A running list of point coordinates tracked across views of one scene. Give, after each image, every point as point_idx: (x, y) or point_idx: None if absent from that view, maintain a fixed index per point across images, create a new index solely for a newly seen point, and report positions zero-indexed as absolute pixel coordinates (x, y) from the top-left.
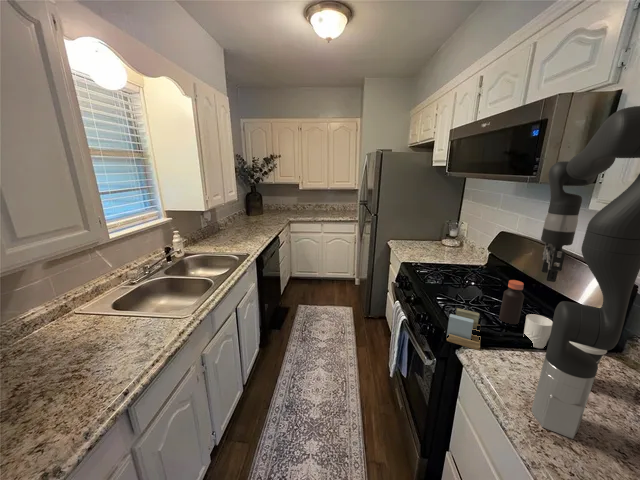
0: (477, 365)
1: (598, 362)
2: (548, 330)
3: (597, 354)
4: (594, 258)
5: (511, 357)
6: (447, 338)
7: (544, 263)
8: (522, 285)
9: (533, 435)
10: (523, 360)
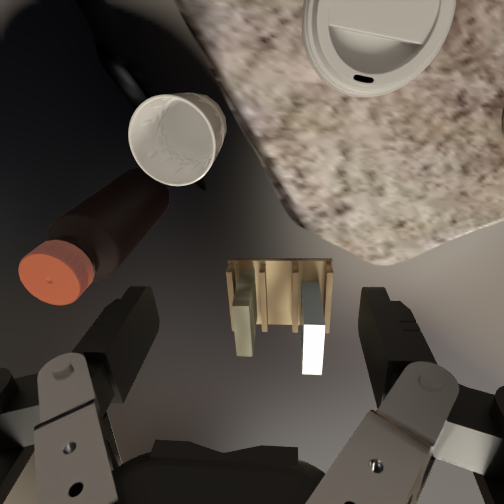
0: (400, 260)
1: None
2: (205, 109)
3: None
4: None
5: (320, 188)
6: None
7: (126, 382)
8: (61, 257)
9: None
10: (318, 160)
